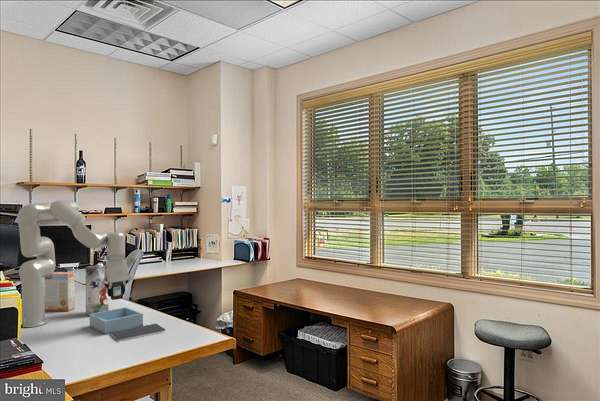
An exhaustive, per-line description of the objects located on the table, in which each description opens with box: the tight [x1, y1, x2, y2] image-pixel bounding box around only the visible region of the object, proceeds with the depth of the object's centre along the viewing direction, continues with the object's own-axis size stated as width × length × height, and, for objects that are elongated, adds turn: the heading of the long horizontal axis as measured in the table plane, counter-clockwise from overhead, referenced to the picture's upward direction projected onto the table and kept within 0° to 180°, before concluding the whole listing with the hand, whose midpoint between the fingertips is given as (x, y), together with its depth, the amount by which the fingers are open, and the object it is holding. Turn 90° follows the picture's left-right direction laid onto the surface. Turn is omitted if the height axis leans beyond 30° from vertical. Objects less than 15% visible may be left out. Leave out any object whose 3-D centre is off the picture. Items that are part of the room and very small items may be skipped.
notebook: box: [109, 323, 166, 342], centre depth 192 cm, size 13×2×21 cm
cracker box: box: [44, 271, 76, 312], centre depth 232 cm, size 14×6×21 cm, turn 84°
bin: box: [89, 306, 144, 336], centre depth 203 cm, size 18×18×6 cm
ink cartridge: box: [110, 282, 124, 301], centre depth 202 cm, size 5×2×8 cm, turn 131°
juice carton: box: [84, 262, 109, 316], centre depth 225 cm, size 9×10×27 cm
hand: (116, 294), depth 202 cm, fingers closed on ink cartridge, 5 cm apart
